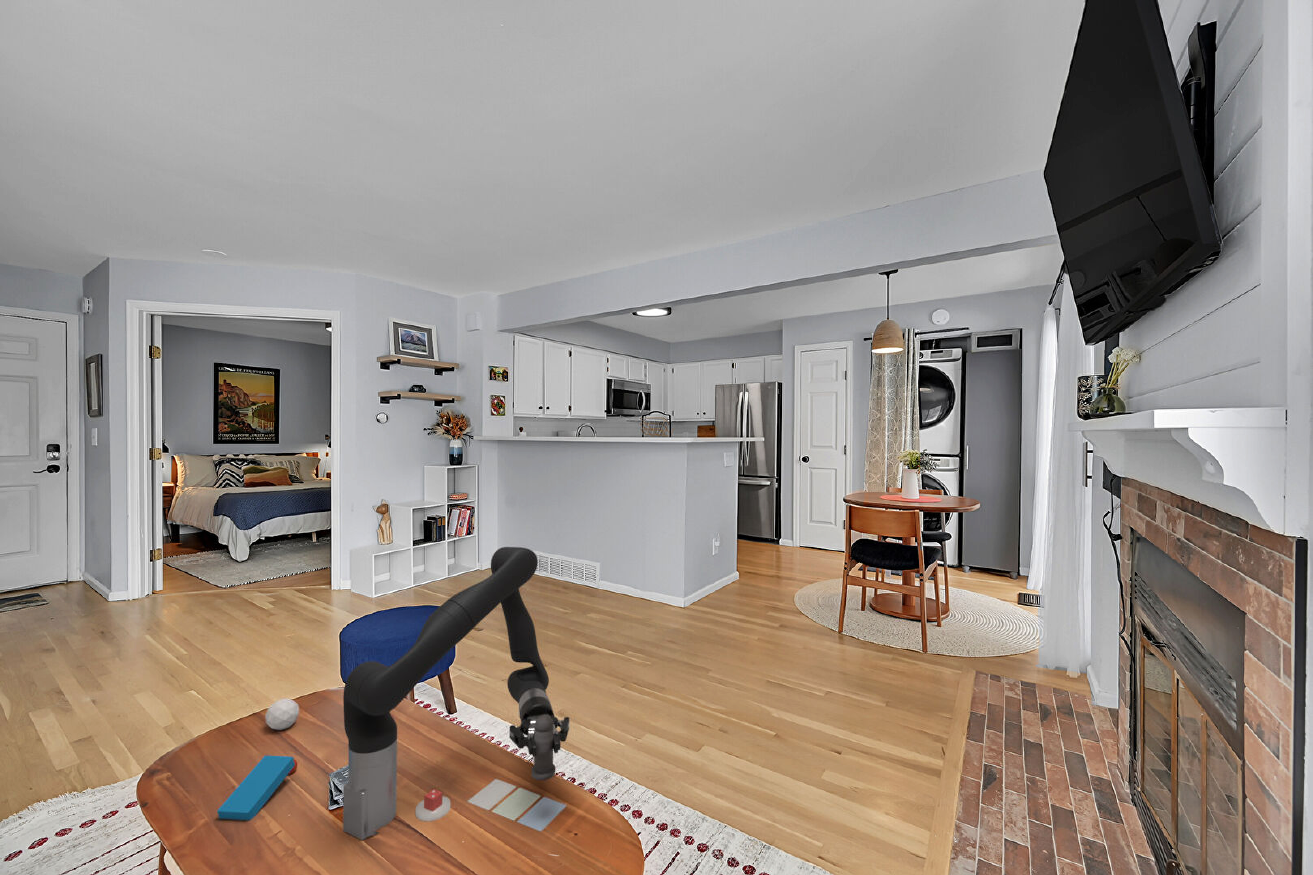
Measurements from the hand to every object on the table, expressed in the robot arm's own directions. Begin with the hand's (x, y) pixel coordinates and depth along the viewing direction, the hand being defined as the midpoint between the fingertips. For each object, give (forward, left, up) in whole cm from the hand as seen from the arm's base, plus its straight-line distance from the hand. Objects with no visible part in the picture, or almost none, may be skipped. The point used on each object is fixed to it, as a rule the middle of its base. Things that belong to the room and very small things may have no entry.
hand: (545, 750), depth 120 cm
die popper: (-8, +23, -16) cm, 30 cm away
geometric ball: (-2, +88, -16) cm, 89 cm away
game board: (+2, +9, -16) cm, 19 cm away
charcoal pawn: (+2, +2, -6) cm, 7 cm away
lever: (-20, +63, -17) cm, 68 cm away
